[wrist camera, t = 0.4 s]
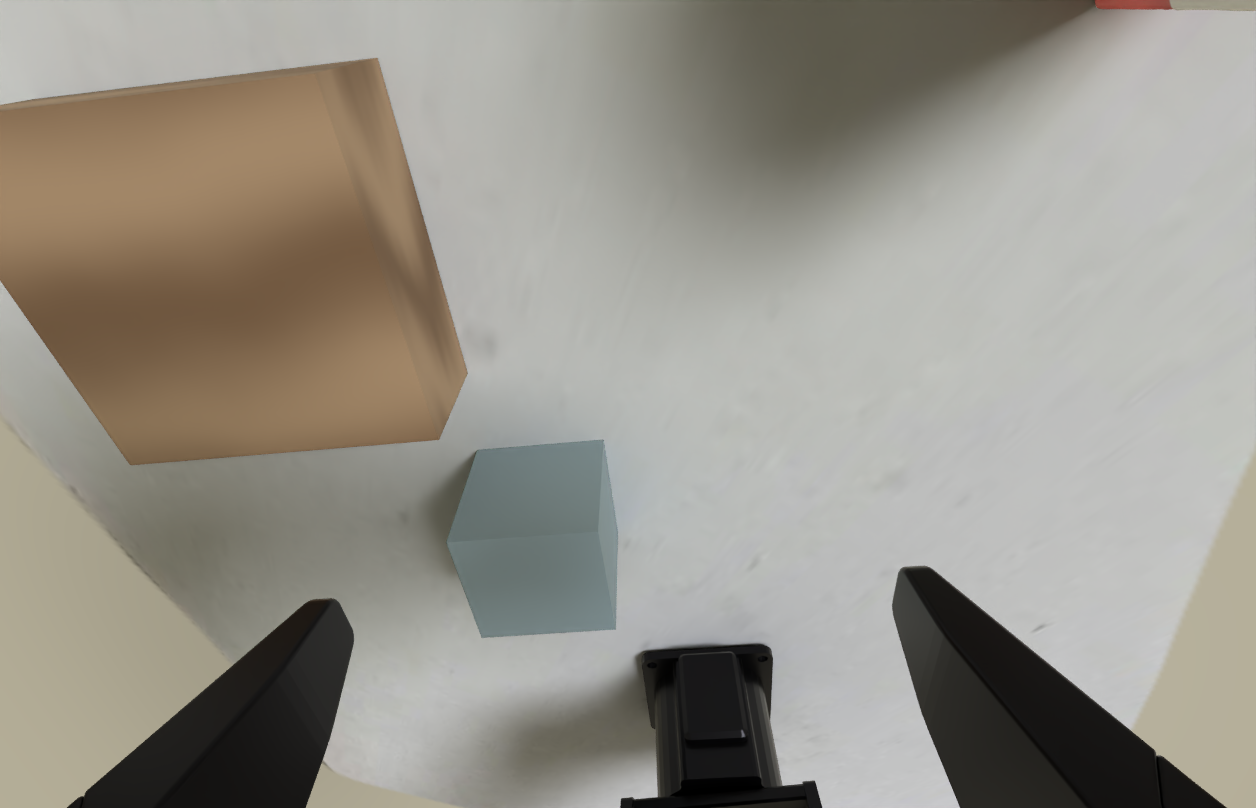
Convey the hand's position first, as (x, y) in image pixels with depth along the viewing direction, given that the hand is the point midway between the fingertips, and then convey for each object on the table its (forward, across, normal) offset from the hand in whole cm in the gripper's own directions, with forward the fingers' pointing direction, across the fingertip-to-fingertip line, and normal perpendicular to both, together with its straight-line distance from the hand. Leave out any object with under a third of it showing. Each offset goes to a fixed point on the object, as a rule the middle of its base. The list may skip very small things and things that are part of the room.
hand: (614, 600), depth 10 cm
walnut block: (+12, +11, -2) cm, 17 cm away
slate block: (+13, +4, +8) cm, 16 cm away
